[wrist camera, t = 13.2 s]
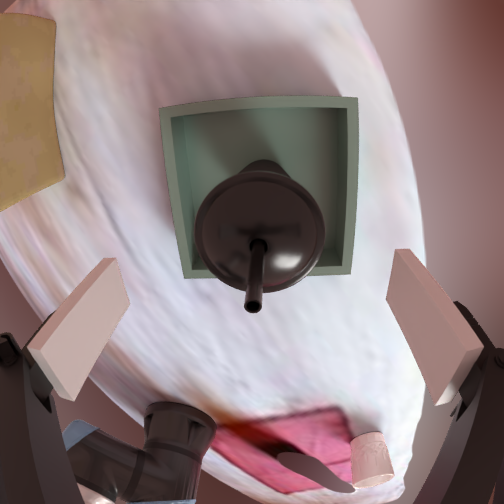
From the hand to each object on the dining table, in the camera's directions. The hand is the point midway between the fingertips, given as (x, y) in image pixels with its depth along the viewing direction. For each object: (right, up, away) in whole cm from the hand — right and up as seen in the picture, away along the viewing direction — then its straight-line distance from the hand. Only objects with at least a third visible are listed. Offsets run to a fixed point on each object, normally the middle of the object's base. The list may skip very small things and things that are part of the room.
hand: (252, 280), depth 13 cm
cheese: (-27, +21, +13) cm, 36 cm away
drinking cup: (+1, +8, +16) cm, 18 cm away
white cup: (+27, -42, +41) cm, 65 cm away
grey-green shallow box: (+1, +9, +17) cm, 19 cm away
